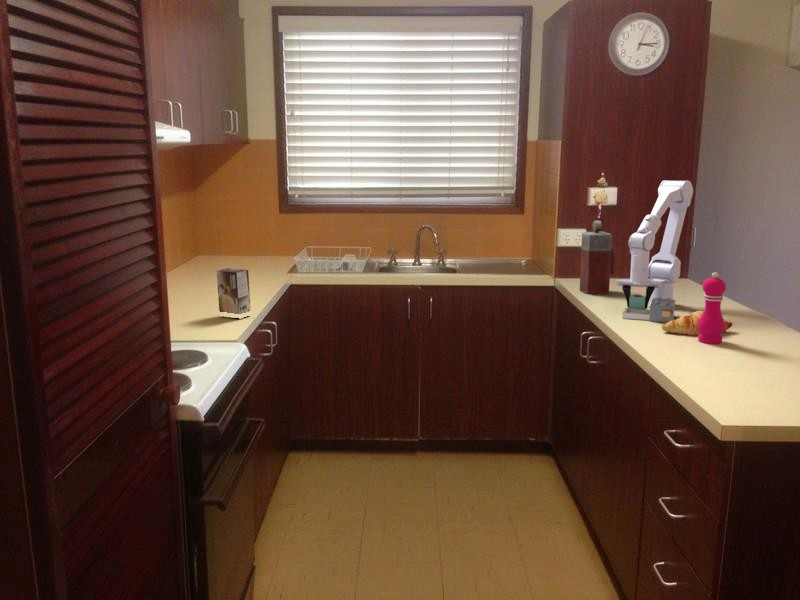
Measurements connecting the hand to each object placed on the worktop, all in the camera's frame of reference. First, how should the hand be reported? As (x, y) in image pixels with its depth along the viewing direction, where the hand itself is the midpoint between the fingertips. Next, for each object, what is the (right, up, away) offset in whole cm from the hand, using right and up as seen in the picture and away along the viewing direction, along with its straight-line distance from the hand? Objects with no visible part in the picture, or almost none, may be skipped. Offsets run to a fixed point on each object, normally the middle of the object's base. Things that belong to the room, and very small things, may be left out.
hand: (637, 307), depth 241 cm
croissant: (+8, -7, -28) cm, 30 cm away
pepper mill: (+8, -9, -39) cm, 41 cm away
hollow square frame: (0, -3, -9) cm, 10 cm away
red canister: (-4, +5, +36) cm, 37 cm away
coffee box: (-137, -3, -2) cm, 137 cm away
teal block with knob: (0, -1, 0) cm, 1 cm away
